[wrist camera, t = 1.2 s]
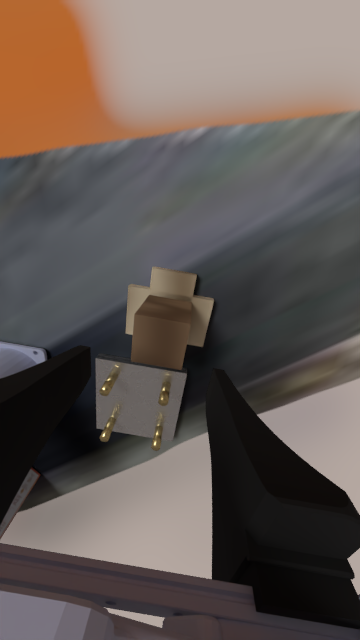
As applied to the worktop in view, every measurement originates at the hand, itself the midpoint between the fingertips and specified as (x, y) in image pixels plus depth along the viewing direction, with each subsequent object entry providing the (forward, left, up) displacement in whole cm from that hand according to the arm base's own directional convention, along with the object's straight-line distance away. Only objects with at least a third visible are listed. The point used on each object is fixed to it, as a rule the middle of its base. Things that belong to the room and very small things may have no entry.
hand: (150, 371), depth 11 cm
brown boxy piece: (0, 0, -9) cm, 9 cm away
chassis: (-2, -12, -9) cm, 15 cm away
